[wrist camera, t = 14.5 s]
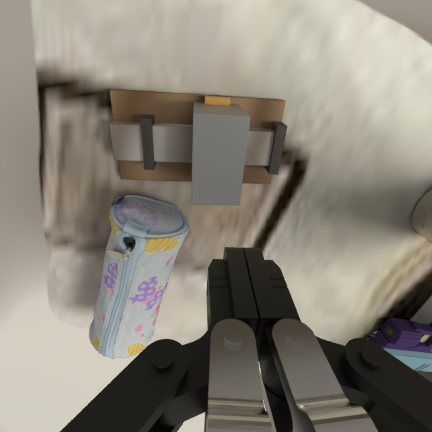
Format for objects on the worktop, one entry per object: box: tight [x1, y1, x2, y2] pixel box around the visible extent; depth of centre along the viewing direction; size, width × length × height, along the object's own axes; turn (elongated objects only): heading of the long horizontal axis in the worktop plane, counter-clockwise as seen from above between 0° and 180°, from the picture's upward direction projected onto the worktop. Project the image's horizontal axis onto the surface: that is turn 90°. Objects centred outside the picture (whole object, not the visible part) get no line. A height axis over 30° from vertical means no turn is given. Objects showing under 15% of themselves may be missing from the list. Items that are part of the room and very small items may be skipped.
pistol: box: [366, 317, 432, 372], centre depth 48 cm, size 4×16×15 cm
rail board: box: [109, 89, 287, 184], centre depth 28 cm, size 17×9×3 cm, turn 86°
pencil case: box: [89, 195, 189, 359], centre depth 33 cm, size 21×9×10 cm, turn 161°
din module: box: [191, 96, 250, 206], centre depth 25 cm, size 4×9×6 cm, turn 176°
